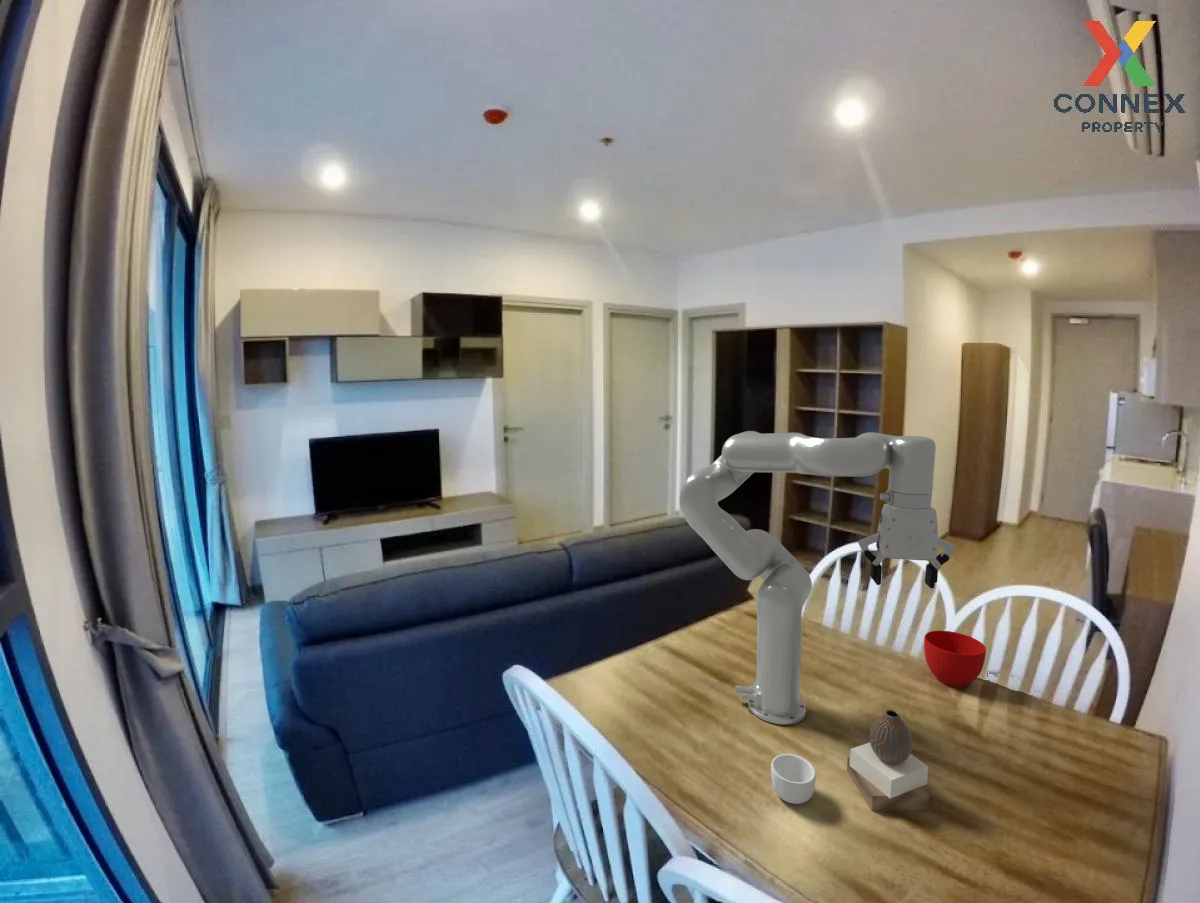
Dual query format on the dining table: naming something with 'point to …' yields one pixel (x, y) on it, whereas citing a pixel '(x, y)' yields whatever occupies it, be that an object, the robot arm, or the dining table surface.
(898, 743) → the vase
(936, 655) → the red rounded bowl
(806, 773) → the teacup
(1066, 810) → the dining table surface
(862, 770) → the top block
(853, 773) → the base block
